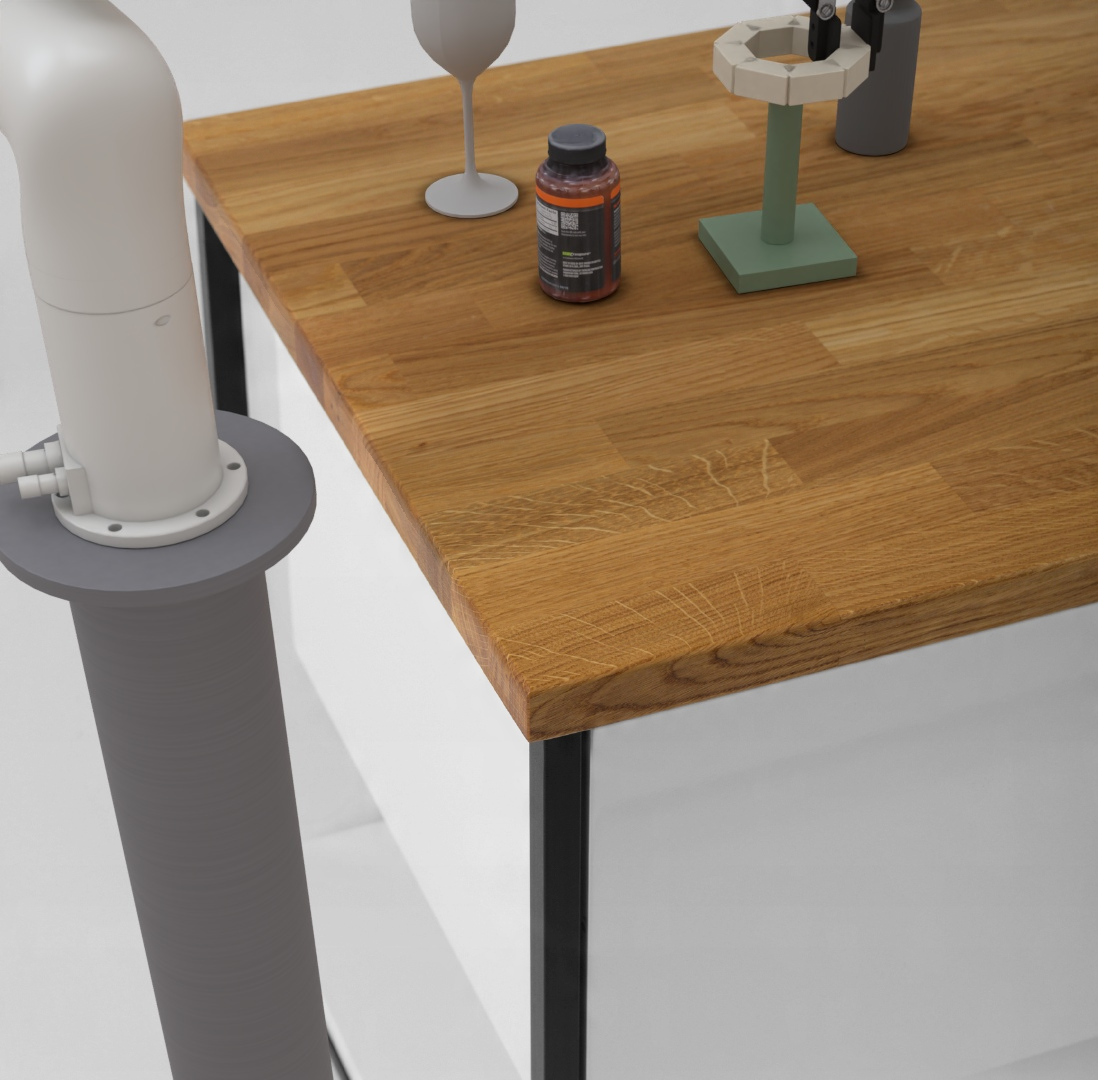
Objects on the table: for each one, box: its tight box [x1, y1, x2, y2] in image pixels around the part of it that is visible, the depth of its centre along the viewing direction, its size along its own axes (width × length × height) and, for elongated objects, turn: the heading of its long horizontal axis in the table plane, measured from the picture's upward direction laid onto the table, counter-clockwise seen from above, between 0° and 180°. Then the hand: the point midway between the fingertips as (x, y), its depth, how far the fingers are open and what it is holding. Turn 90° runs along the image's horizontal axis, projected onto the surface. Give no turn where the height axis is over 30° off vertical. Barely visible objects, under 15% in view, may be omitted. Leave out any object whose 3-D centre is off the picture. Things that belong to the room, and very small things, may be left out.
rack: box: [697, 102, 858, 294], centre depth 145 cm, size 9×9×14 cm
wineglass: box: [410, 0, 519, 219], centre depth 150 cm, size 8×8×21 cm
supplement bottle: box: [535, 123, 622, 303], centre depth 143 cm, size 6×6×11 cm
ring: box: [712, 14, 871, 106], centre depth 140 cm, size 10×10×2 cm
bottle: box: [834, 0, 923, 156], centre depth 159 cm, size 6×6×15 cm
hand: (843, 64), depth 141 cm, fingers closed on ring, 2 cm apart
